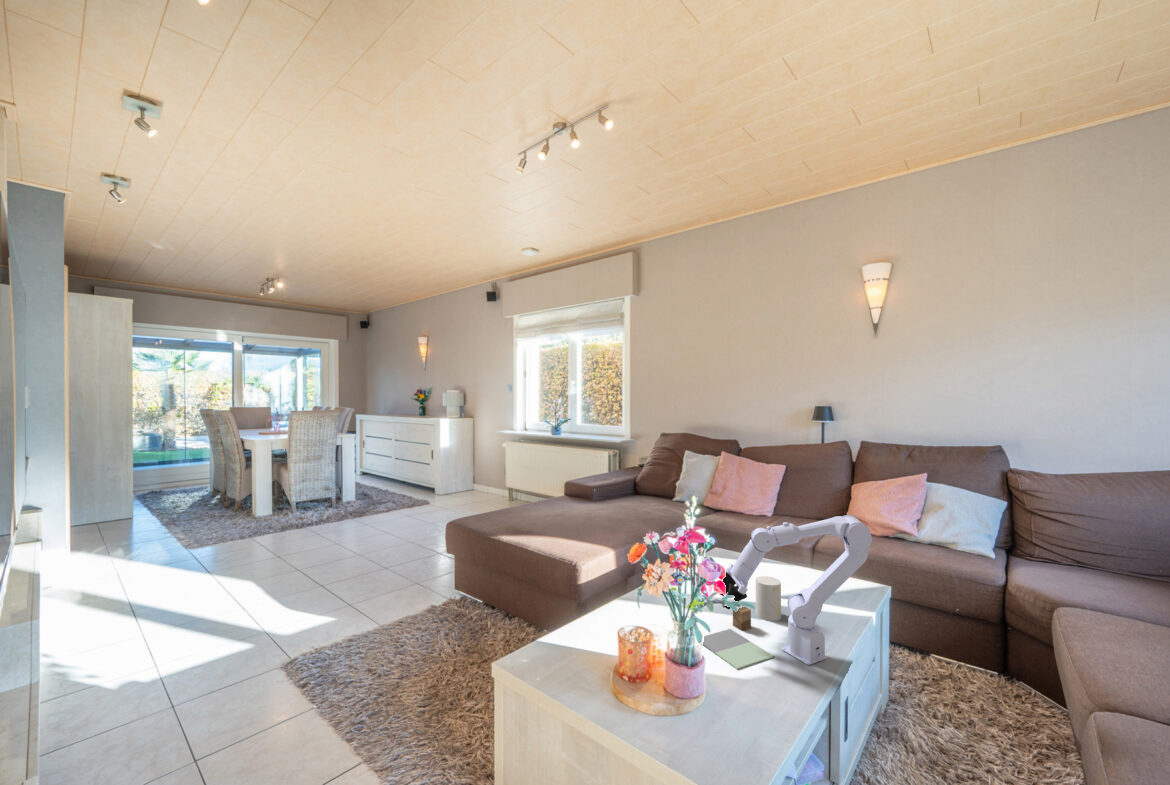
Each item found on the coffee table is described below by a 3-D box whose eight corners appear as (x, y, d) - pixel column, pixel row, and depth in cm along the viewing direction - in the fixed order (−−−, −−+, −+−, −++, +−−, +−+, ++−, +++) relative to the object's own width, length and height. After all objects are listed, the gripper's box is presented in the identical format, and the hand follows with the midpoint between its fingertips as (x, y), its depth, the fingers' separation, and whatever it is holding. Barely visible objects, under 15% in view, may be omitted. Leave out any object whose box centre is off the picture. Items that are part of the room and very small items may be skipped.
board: (774, 657, 139) (774, 655, 139) (737, 669, 133) (737, 668, 133) (730, 630, 156) (730, 628, 156) (695, 639, 149) (695, 638, 149)
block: (750, 628, 157) (750, 609, 157) (741, 630, 155) (741, 612, 155) (742, 623, 160) (741, 605, 160) (732, 625, 159) (732, 607, 159)
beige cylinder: (777, 623, 160) (776, 587, 160) (752, 616, 165) (752, 581, 165) (783, 614, 166) (783, 579, 166) (760, 608, 171) (759, 574, 171)
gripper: (729, 547, 153) (707, 582, 154) (740, 568, 138) (716, 606, 140) (749, 558, 152) (726, 593, 154) (762, 580, 138) (737, 619, 140)
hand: (723, 600), depth 147 cm, fingers open, 7 cm apart
